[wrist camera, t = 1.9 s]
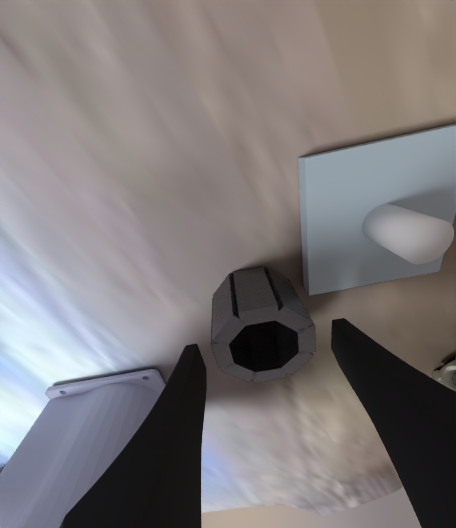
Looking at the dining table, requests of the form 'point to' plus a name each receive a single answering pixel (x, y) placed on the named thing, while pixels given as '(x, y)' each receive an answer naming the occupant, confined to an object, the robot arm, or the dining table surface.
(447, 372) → the pneumatic valve
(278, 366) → the ring
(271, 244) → the dining table surface
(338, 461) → the dining table surface
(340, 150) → the square plate with peg
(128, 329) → the dining table surface
